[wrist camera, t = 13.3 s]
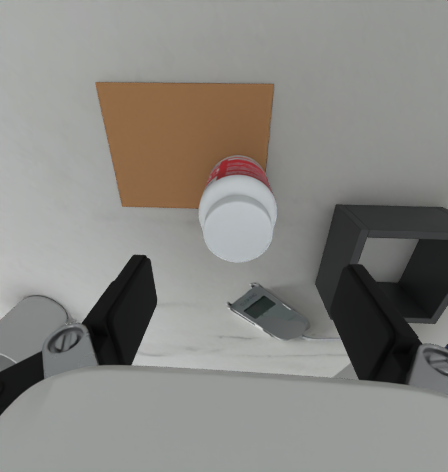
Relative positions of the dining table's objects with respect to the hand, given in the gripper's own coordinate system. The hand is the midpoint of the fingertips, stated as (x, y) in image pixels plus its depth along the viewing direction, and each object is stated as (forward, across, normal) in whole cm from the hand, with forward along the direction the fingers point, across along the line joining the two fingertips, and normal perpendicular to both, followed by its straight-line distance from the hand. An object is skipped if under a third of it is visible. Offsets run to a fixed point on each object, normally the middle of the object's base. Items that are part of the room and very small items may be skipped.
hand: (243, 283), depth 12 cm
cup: (+16, +29, +22) cm, 39 cm away
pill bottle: (+16, 0, 0) cm, 16 cm away
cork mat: (+16, +6, -3) cm, 17 cm away
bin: (+16, -16, +8) cm, 24 cm away
